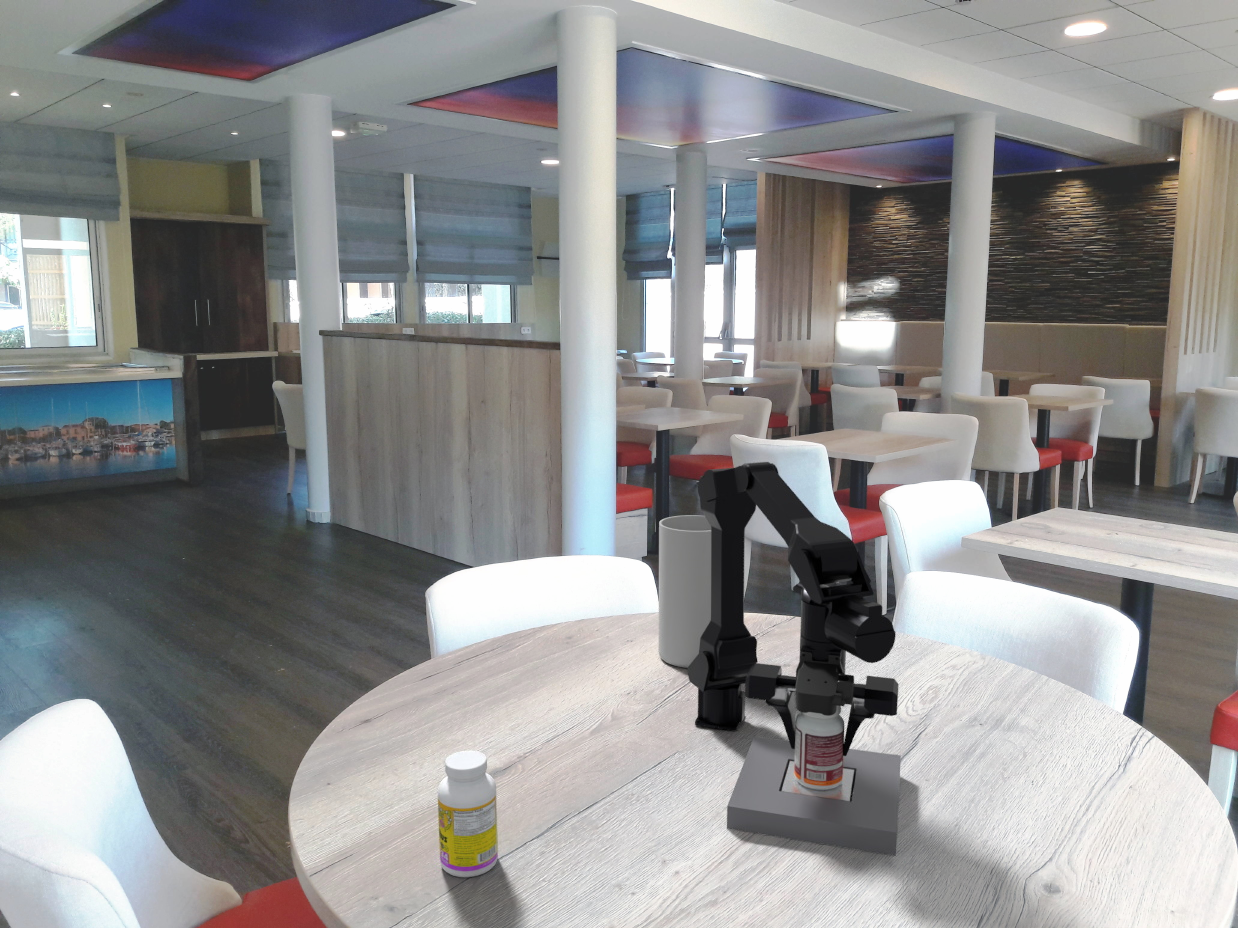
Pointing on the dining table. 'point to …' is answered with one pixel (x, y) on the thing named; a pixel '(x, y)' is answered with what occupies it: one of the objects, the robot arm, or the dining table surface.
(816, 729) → the pill bottle
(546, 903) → the dining table surface
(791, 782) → the plunger pad
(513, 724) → the dining table surface
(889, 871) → the dining table surface
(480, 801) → the supplement bottle
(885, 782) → the plate
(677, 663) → the cylinder vase
